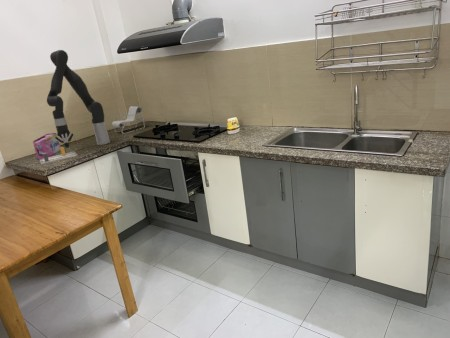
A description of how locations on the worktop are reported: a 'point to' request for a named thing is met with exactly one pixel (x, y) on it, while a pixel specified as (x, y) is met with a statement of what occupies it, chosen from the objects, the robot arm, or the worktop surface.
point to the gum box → (46, 145)
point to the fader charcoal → (45, 156)
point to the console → (59, 157)
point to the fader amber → (62, 150)
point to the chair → (129, 118)
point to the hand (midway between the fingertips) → (67, 147)
